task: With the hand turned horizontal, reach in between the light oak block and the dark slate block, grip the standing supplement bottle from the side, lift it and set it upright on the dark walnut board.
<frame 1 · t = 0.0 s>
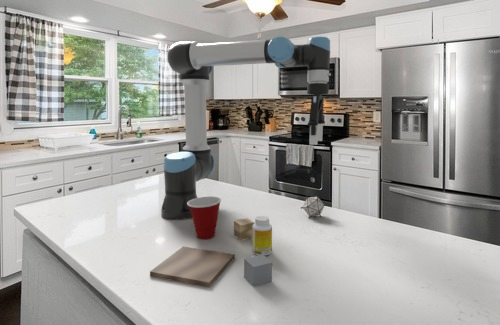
hand: (316, 142, 124), 28 cm above the countertop, tool pointing down, fingers open, 13 cm apart
walnut board: (194, 266, 88), on the countertop
supplement bottle: (262, 253, 97), on the countertop
plastic cup: (204, 236, 109), on the countertop
oak block: (244, 236, 109), on the countertop
game die: (313, 217, 128), on the countertop
slate block: (257, 279, 82), on the countertop
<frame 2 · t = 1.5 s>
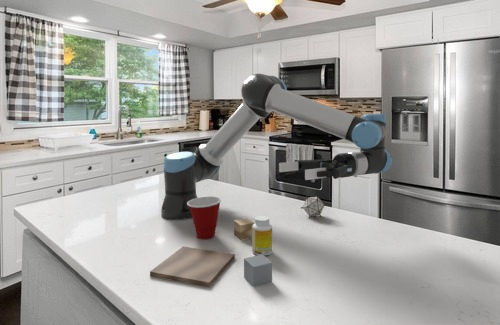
hand: (291, 171, 97), 23 cm above the countertop, tool horizontal, fingers open, 13 cm apart
nothing on the countertop moved.
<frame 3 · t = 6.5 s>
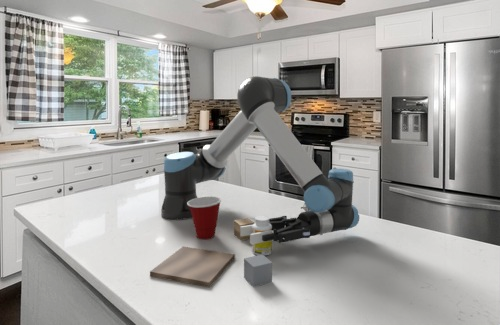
hand: (245, 235, 93), 6 cm above the countertop, tool horizontal, fingers closed on supplement bottle, 6 cm apart
supplement bottle: (262, 253, 97), on the countertop, touching gripper
everything else where it was.
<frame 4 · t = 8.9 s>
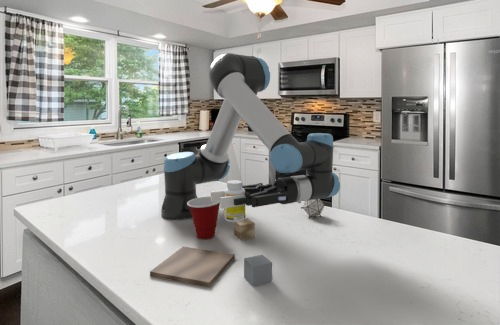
hand: (216, 199, 86), 18 cm above the countertop, tool horizontal, fingers closed on supplement bottle, 6 cm apart
supplement bottle: (234, 220, 90), point 11 cm above the countertop, touching gripper
everything else where it was.
when the fingers open (9 cm above the countertop, at t = 11.6 s): supplement bottle drops 1 cm, resting on walnut board.
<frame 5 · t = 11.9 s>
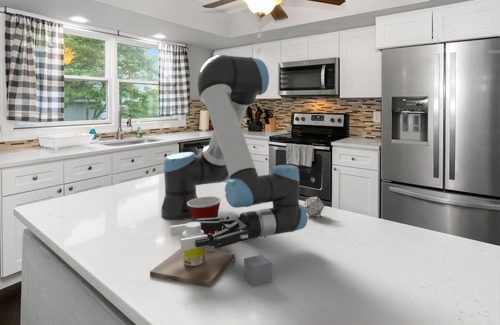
hand: (175, 237, 85), 9 cm above the countertop, tool horizontal, fingers open, 9 cm apart
supplement bottle: (193, 262, 88), point 1 cm above the countertop, touching walnut board
everything else where it was.
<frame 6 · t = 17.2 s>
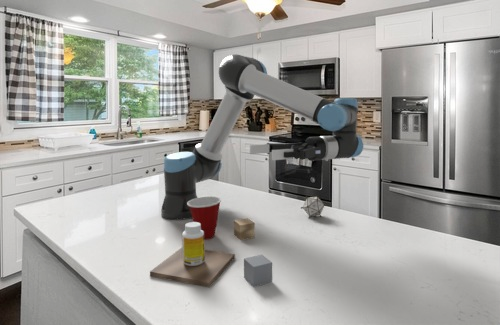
hand: (260, 152, 98), 28 cm above the countertop, tool horizontal, fingers open, 13 cm apart
nothing on the countertop moved.
at the end: supplement bottle 0.3 cm from the walnut board (horizontally); supplement bottle tilted 0°; supplement bottle touching walnut board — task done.
